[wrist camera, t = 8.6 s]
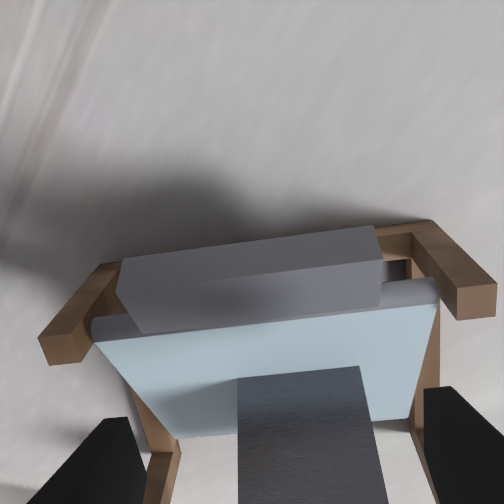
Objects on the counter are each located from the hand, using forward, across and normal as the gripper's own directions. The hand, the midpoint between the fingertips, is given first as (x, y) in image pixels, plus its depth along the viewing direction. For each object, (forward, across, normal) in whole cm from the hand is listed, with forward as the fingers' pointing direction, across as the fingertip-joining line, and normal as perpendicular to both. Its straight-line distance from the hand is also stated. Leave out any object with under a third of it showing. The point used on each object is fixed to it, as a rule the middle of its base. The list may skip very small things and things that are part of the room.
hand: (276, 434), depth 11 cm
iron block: (+8, 0, +6) cm, 9 cm away
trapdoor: (+7, 0, +3) cm, 8 cm away
